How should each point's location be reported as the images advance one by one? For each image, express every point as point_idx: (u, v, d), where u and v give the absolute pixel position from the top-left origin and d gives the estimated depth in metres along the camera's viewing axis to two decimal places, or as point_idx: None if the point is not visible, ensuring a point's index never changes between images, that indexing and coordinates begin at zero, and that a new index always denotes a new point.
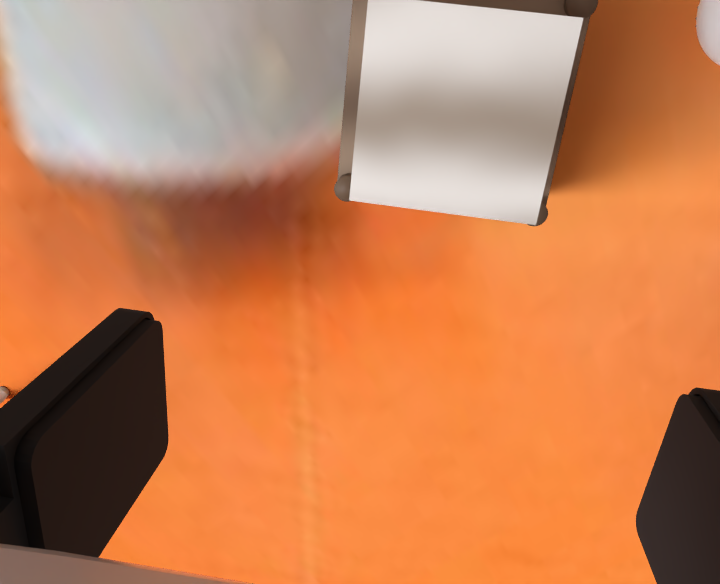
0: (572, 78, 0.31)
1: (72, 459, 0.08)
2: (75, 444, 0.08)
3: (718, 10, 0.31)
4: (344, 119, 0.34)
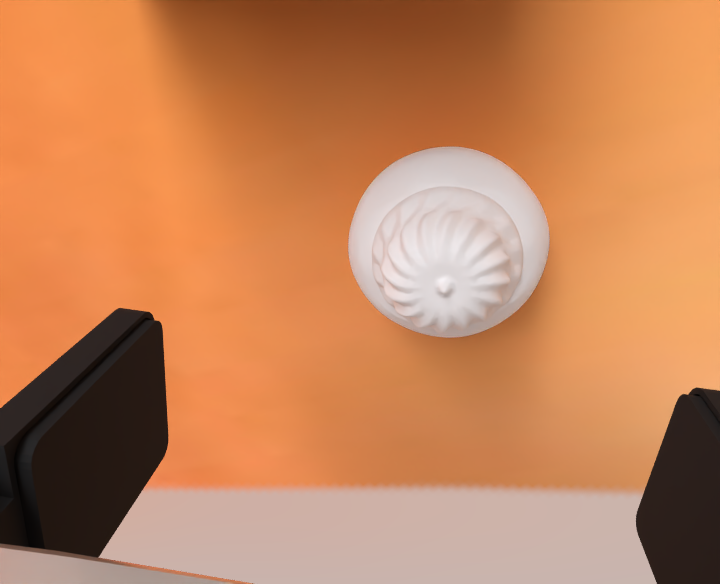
0: None
1: (72, 459, 0.08)
2: (75, 444, 0.08)
3: (448, 174, 0.17)
4: None
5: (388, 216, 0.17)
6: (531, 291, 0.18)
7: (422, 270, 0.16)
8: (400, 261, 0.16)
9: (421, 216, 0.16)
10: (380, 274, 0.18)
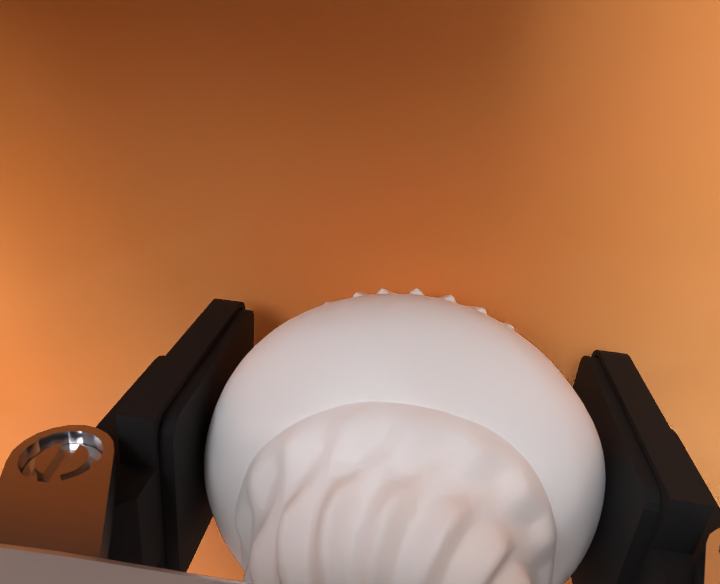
0: None
1: (196, 435, 0.09)
2: (198, 422, 0.09)
3: (392, 374, 0.08)
4: None
5: (263, 457, 0.08)
6: (568, 578, 0.09)
7: None
8: None
9: (326, 486, 0.07)
10: None
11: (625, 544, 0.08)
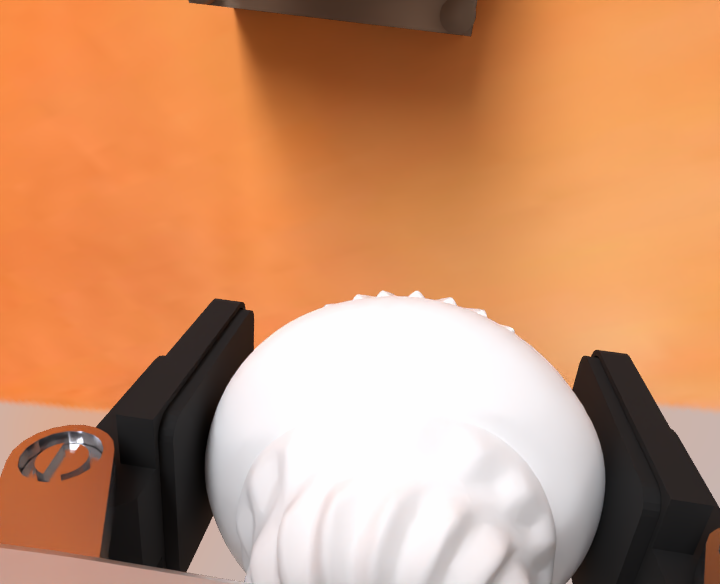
0: (371, 20, 0.25)
1: (196, 435, 0.09)
2: (198, 422, 0.09)
3: (392, 377, 0.08)
4: None
5: (264, 459, 0.08)
6: (567, 579, 0.09)
7: None
8: None
9: (327, 488, 0.07)
10: None
11: (625, 544, 0.08)
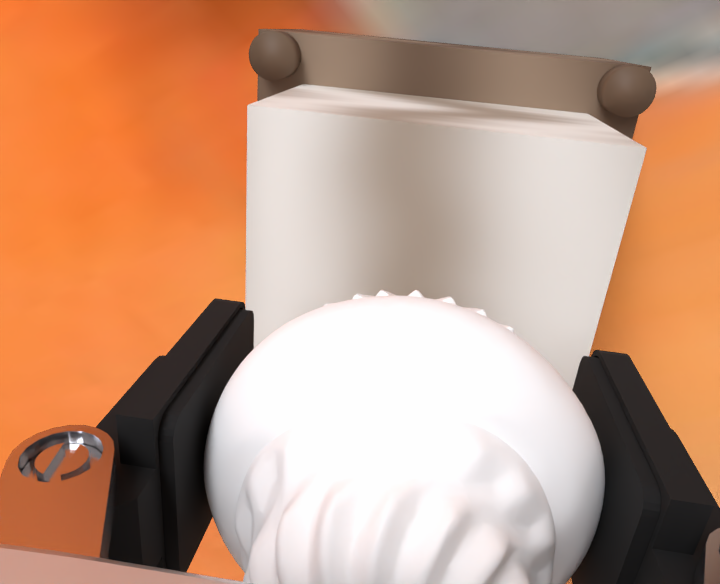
0: None
1: (196, 435, 0.09)
2: (198, 422, 0.09)
3: (391, 376, 0.08)
4: (396, 46, 0.19)
5: (263, 459, 0.08)
6: (567, 579, 0.09)
7: None
8: None
9: (325, 488, 0.07)
10: None
11: (625, 544, 0.08)
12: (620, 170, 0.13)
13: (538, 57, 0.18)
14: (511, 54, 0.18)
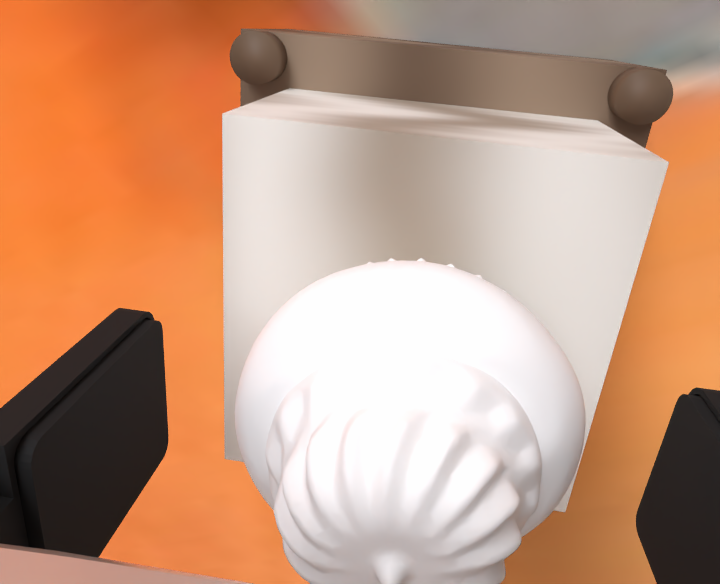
0: None
1: (72, 459, 0.08)
2: (75, 444, 0.08)
3: (401, 325, 0.09)
4: (390, 47, 0.17)
5: (291, 398, 0.09)
6: (553, 509, 0.10)
7: (346, 540, 0.08)
8: (302, 513, 0.08)
9: (347, 416, 0.08)
10: None
11: None
12: (639, 187, 0.12)
13: (544, 59, 0.17)
14: (514, 56, 0.17)
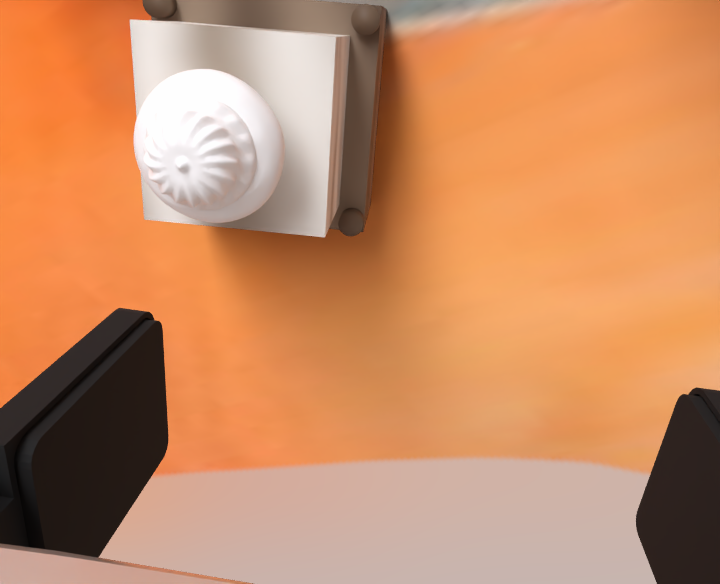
0: None
1: (72, 459, 0.08)
2: (75, 444, 0.08)
3: (193, 87, 0.23)
4: None
5: (151, 120, 0.23)
6: (272, 179, 0.24)
7: (164, 153, 0.21)
8: (150, 148, 0.22)
9: None
10: None
11: None
12: (325, 49, 0.26)
13: (316, 1, 0.31)
14: (301, 0, 0.31)
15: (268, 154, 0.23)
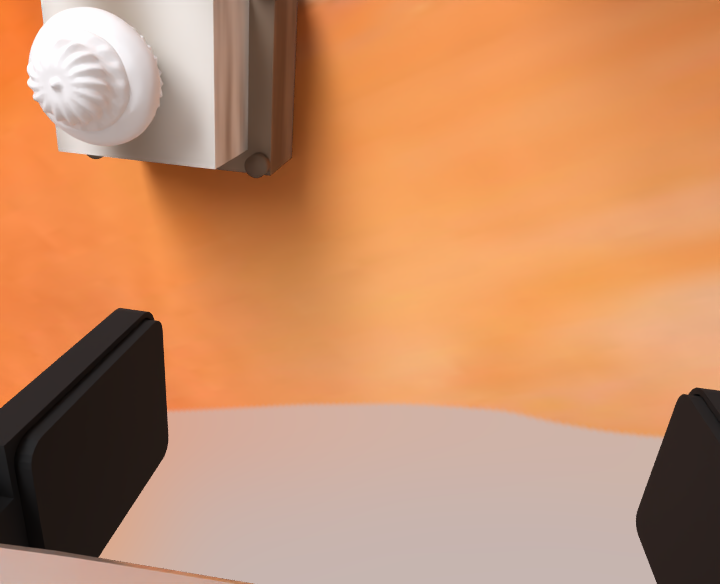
0: None
1: (72, 459, 0.08)
2: (75, 444, 0.08)
3: (72, 20, 0.26)
4: None
5: None
6: (147, 106, 0.28)
7: (40, 73, 0.25)
8: (30, 70, 0.25)
9: None
10: None
11: None
12: None
13: None
14: None
15: (140, 82, 0.27)
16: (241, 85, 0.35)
